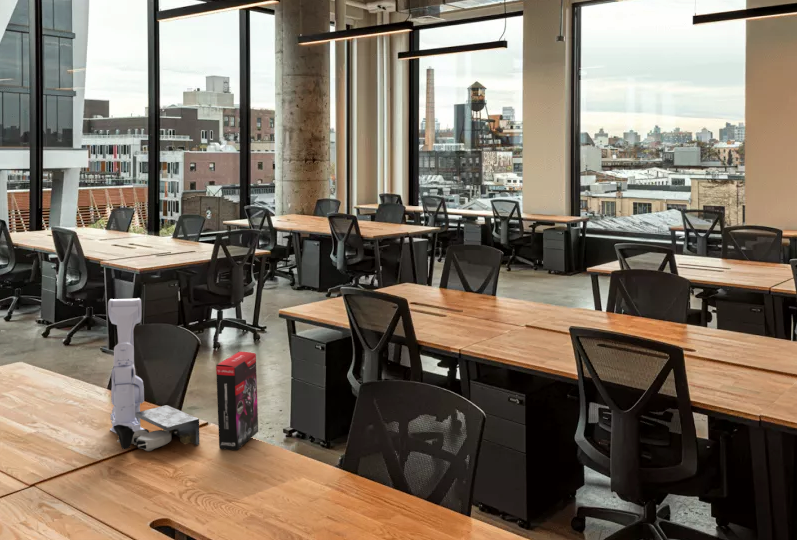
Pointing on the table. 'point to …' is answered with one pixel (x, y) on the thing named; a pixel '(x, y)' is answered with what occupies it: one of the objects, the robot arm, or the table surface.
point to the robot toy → (150, 439)
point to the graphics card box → (237, 400)
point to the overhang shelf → (173, 422)
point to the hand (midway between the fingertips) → (125, 448)
